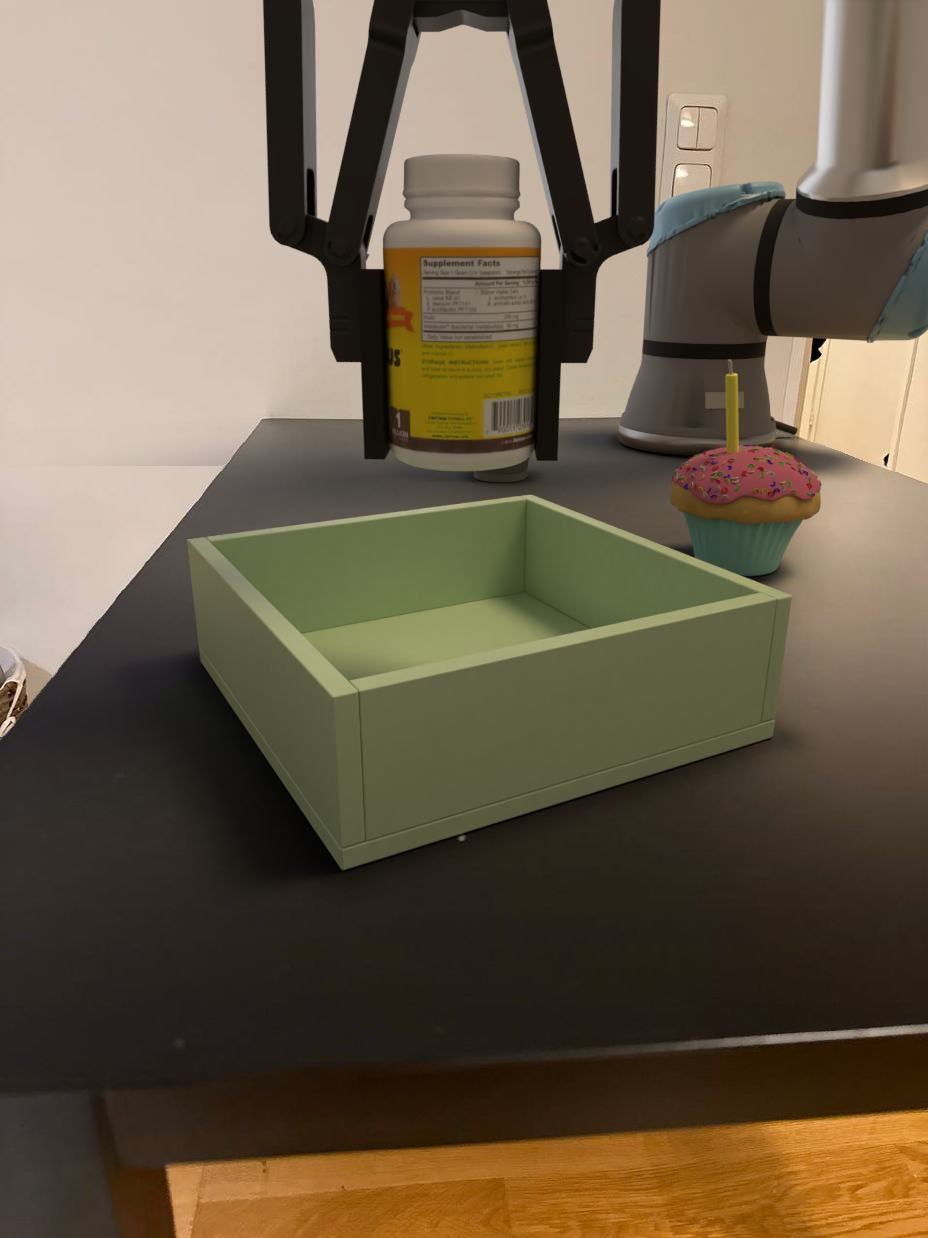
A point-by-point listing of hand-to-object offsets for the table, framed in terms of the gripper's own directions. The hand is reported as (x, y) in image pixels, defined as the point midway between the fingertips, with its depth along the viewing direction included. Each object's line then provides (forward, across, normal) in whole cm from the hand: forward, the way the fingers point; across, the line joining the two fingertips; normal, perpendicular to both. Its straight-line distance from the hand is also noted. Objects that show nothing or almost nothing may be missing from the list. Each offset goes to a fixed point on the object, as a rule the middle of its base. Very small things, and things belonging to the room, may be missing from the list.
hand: (461, 451), depth 35 cm
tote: (+10, 0, 0) cm, 10 cm away
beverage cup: (+10, +2, +43) cm, 44 cm away
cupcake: (+10, +16, +19) cm, 27 cm away
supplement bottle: (+1, 0, 0) cm, 1 cm away
